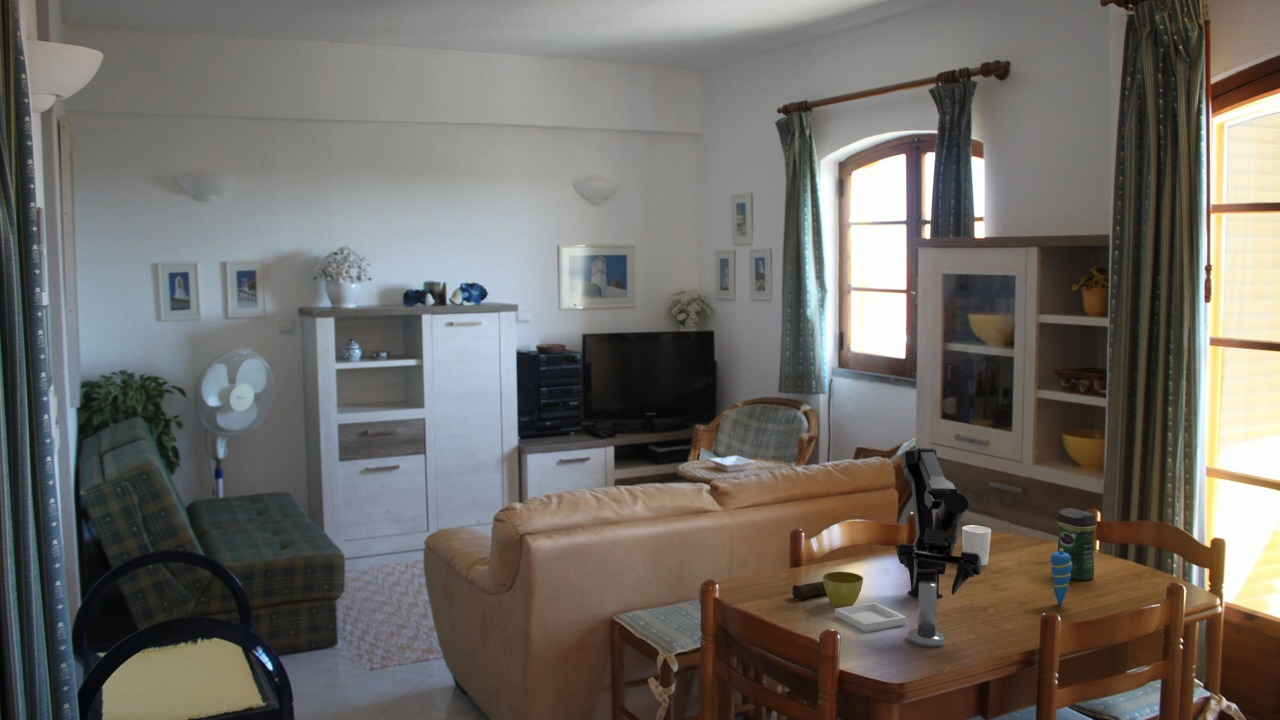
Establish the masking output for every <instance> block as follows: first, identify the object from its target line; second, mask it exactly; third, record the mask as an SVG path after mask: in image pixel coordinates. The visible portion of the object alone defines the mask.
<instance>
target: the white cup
mask: <svg viewBox="0 0 1280 720" xmlns="http://www.w3.org/2000/svg"><path fill="white" fill-rule="evenodd" d="M961 529H962V530H961V531H962V539H961V541H962V551H964V552H972V553H978V555H979V556H980V560H981V567H982V566H987V565H988V564H989V555H990V548H991V539H992V538H991V536H992V529H991V528H989V527H988V526H984V525H983V526H981V525H976V524H975V525H973V524H972V525H964V526H962V528H961Z"/></svg>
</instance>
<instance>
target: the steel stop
mask: <svg viewBox="0 0 1280 720" xmlns="http://www.w3.org/2000/svg"><path fill="white" fill-rule="evenodd" d="M937 599H938V598H937V583H935V582H932V581H920V582H919V598H918V601H917V602H918V604H917V606H918V608H917V609H918V610H917V628H914V629H911V630H909V631H908V634H907V635H908V639H907V640H908V642H909V643H910V644H913V645H915V646H917V645H918V646H917V647H921V646H924V647H923V648H928V647H934V648H940V647H943V646H944V645H945V644H946V643H945V640H946V639H945V637H946V636H945V634H944V633H942V632H941V631H939V630H937V628H936V627H937V605H938V604H937V603H938V602H937V601H938V600H937ZM942 645H943V646H942ZM939 646H940V647H939Z"/></svg>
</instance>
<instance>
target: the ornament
mask: <svg viewBox="0 0 1280 720" xmlns="http://www.w3.org/2000/svg"><path fill="white" fill-rule="evenodd" d="M1050 563H1051V567H1050V570H1051V574H1052V583H1053V586H1054V587H1053V592H1054V595H1055V598H1056V602H1057V605H1059V606H1062V605H1063V603H1064V601H1065V600H1064V599H1065V597H1066V596H1067V593H1068V590H1069V587H1070V586H1069V585H1070V584H1069V583H1070V580H1071V579H1072V578H1071V573H1070V572H1071V570H1072V567H1073V566H1072V562H1071V557H1070V555H1069V554H1068V553H1065V552H1063V548H1062V549H1061V548H1060V549H1059V552H1058V551H1054V552H1052V554H1051V556H1050Z"/></svg>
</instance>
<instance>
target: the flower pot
mask: <svg viewBox="0 0 1280 720" xmlns="http://www.w3.org/2000/svg"><path fill="white" fill-rule="evenodd" d="M822 581H823V584H824V588H825V591H826V594H825V595H826V596H827V598H828V600H829V602H830V604H831V605H832V606H834V607H835V608H842V607H848V606H854V605H855V603H856V601H857V600H858V599H859V595H860V593H861V591H862V587H863V583H864V577H863V576H862V575H860V574H857V573H854V572H848V571H830V572H827V573H824V574H823V575H822Z"/></svg>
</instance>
